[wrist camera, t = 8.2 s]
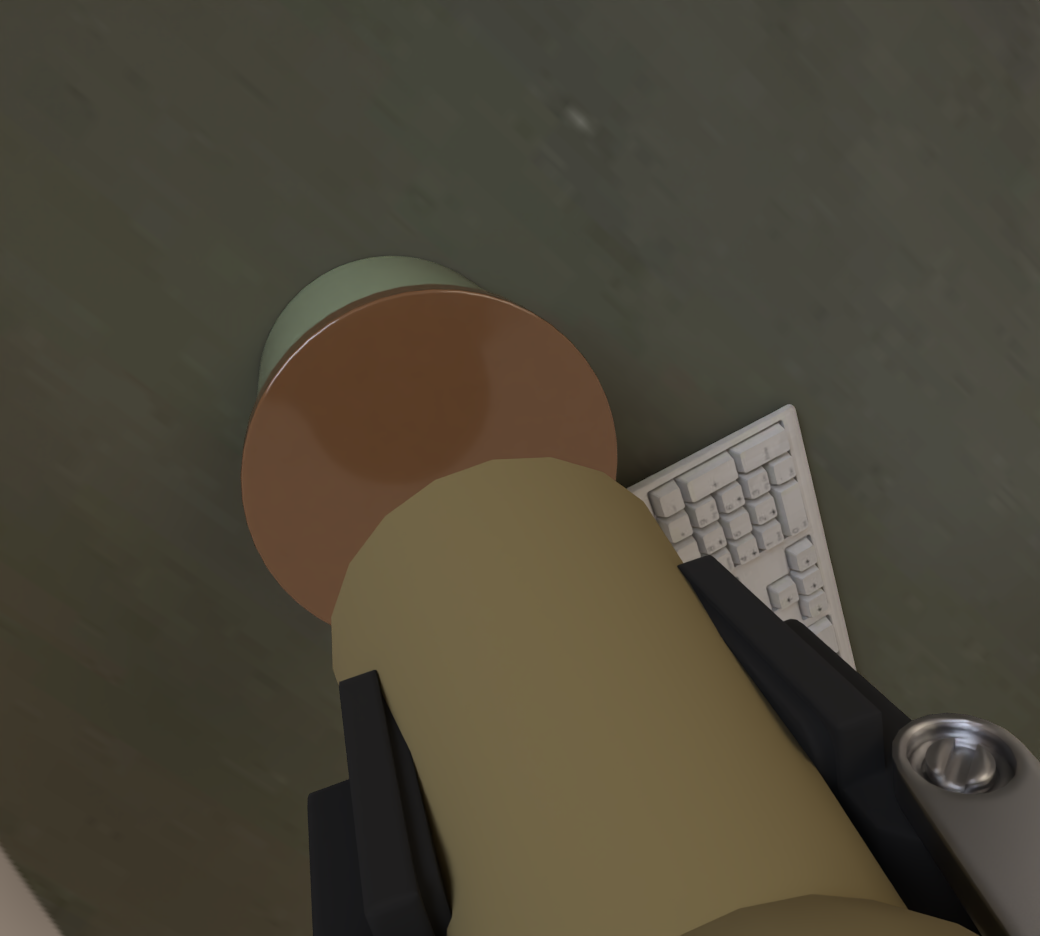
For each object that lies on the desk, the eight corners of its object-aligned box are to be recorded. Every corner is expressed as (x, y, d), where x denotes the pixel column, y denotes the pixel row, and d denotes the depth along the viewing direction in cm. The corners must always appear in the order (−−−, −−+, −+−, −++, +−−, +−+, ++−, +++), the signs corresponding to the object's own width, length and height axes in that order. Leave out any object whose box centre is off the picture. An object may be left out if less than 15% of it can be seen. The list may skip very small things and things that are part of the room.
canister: (188, 378, 27) (149, 474, 19) (410, 187, 27) (467, 202, 19) (381, 564, 31) (418, 710, 23) (576, 399, 31) (683, 487, 23)
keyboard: (900, 877, 45) (926, 907, 43) (731, 968, 44) (751, 1003, 42) (788, 399, 33) (817, 414, 31) (552, 509, 32) (569, 530, 30)
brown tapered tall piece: (247, 651, 13) (141, 2247, 3) (525, 378, 13) (1413, 1173, 3) (503, 829, 16) (899, 2019, 6) (741, 604, 15) (1608, 1445, 5)
